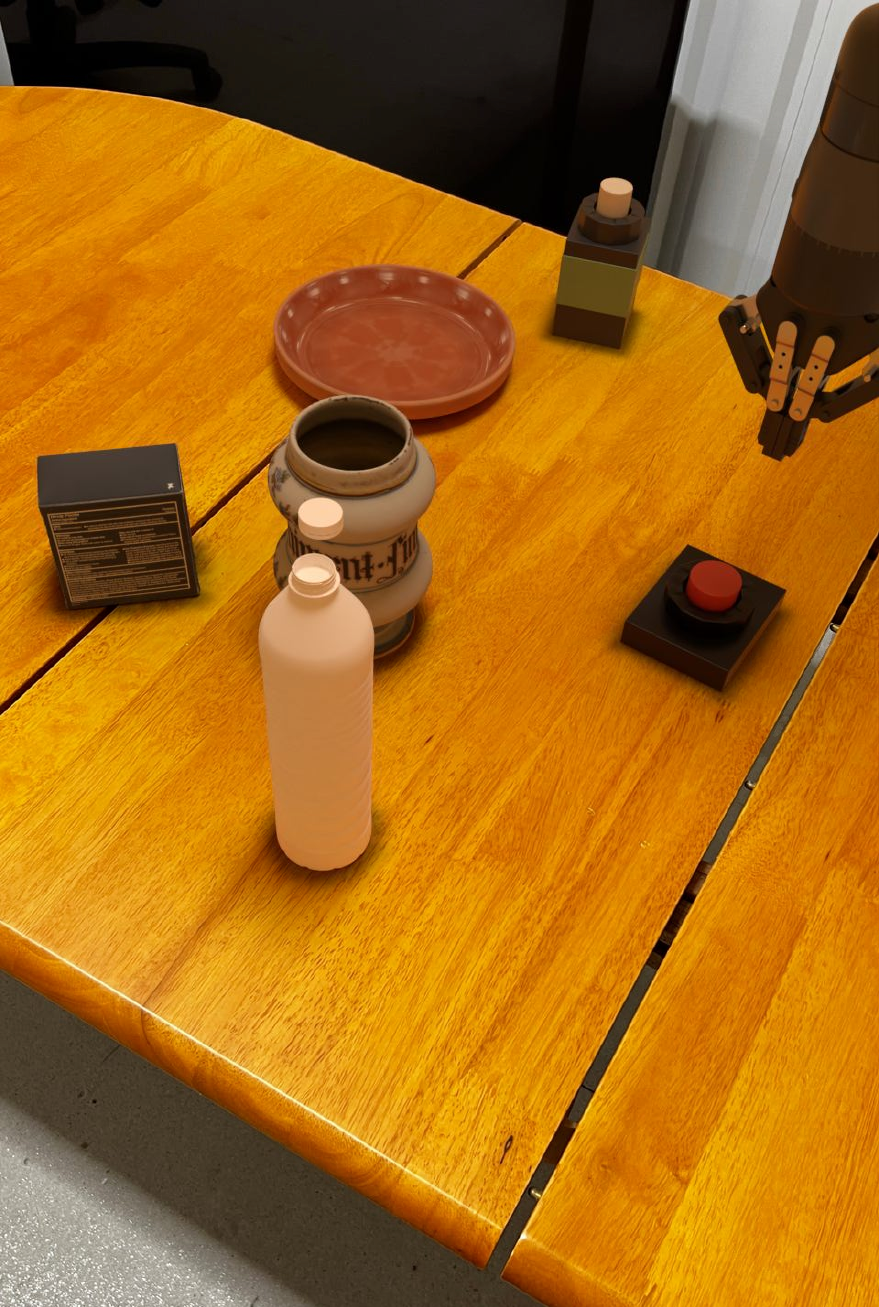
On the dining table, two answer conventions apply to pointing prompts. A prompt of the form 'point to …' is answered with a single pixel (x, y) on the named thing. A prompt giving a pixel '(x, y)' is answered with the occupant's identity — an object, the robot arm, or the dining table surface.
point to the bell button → (713, 586)
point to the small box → (118, 525)
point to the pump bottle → (606, 245)
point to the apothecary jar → (360, 506)
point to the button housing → (701, 623)
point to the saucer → (395, 338)
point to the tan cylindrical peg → (614, 198)
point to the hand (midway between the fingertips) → (775, 452)
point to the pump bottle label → (598, 285)
